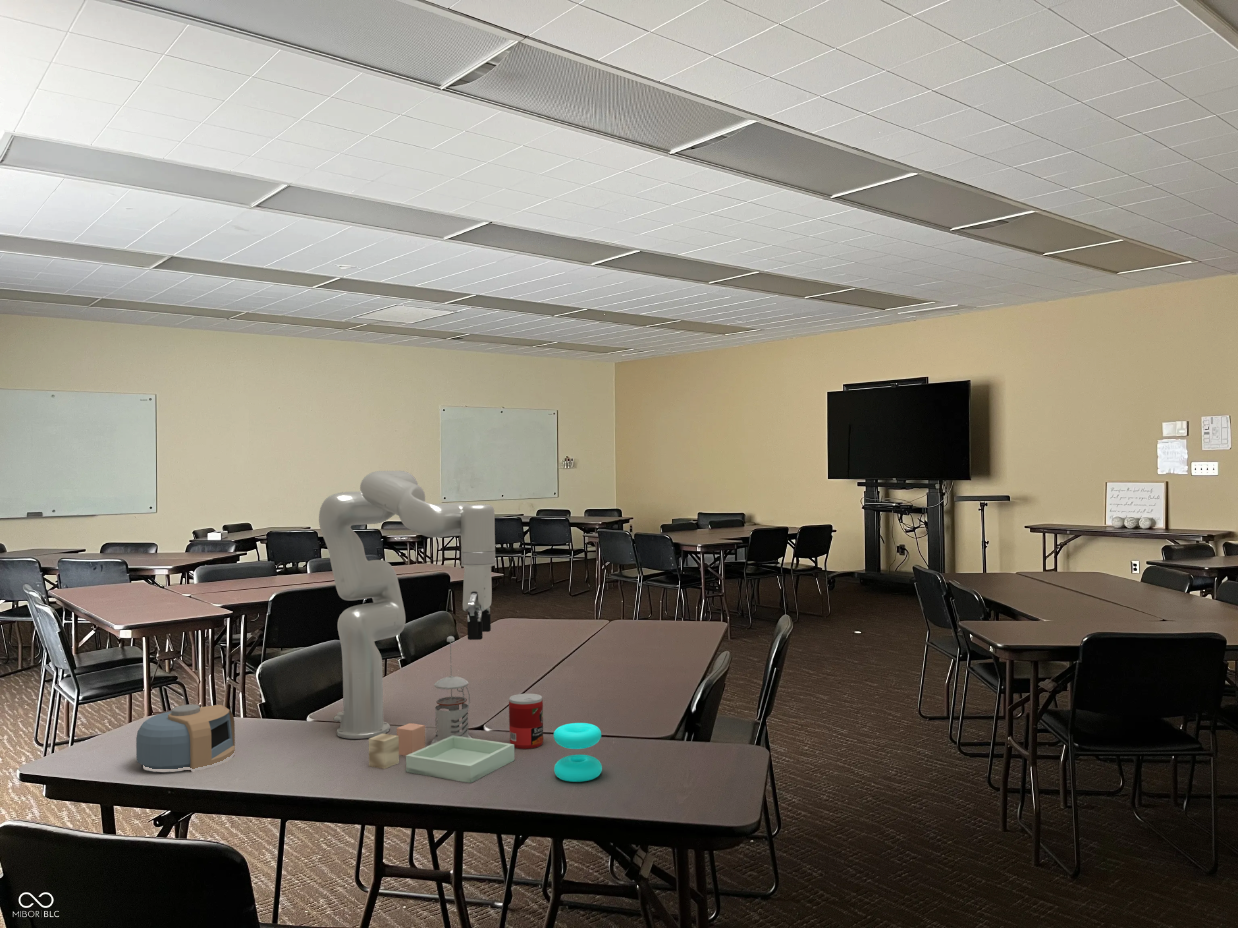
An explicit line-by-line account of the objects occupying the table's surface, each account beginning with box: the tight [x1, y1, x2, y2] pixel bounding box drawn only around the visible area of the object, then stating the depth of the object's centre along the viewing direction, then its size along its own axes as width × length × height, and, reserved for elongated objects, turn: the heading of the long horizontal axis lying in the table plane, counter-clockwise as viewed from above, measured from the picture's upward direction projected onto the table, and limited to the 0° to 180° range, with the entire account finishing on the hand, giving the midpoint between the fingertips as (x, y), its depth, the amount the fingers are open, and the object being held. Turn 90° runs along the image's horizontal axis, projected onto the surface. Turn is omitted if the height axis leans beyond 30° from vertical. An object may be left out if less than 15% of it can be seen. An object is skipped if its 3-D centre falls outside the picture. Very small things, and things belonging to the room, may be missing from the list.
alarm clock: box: [135, 704, 236, 769], centre depth 200 cm, size 19×20×12 cm
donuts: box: [553, 722, 603, 783], centre depth 185 cm, size 10×10×10 cm
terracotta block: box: [396, 722, 426, 757], centre depth 202 cm, size 4×4×6 cm
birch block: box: [368, 733, 400, 770], centre depth 194 cm, size 4×4×6 cm
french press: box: [431, 635, 473, 745], centre depth 212 cm, size 10×12×25 cm
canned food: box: [508, 693, 544, 750], centre depth 207 cm, size 8×8×11 cm
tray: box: [405, 736, 515, 784], centre depth 192 cm, size 17×16×4 cm
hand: (479, 635), depth 198 cm, fingers open, 9 cm apart
